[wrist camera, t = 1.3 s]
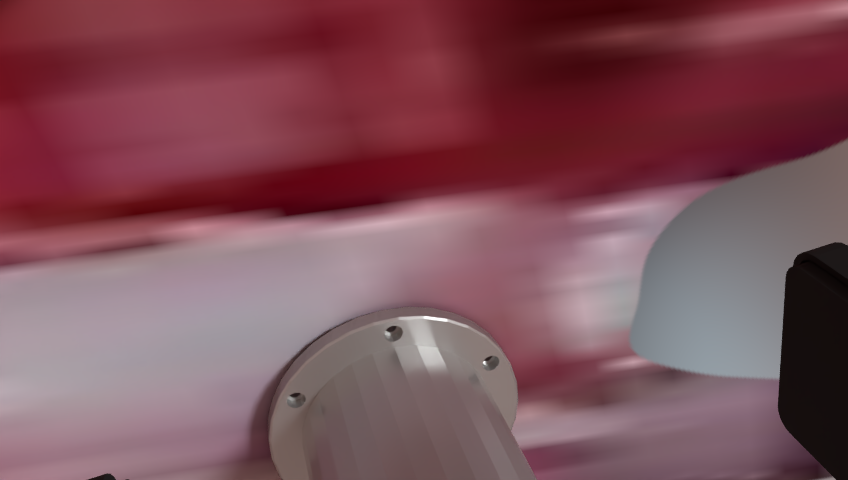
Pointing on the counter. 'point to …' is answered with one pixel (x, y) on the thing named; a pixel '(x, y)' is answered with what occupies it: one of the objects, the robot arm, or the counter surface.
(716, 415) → the counter surface
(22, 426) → the counter surface
